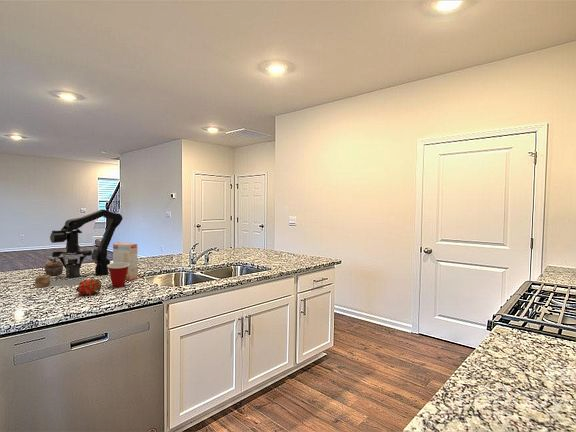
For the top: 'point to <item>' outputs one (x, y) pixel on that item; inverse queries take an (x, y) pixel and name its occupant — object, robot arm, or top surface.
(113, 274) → the plastic cup
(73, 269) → the supplement bottle
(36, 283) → the walnut block
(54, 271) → the cupcake
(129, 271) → the cracker box
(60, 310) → the top surface
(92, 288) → the dragon fruit
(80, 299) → the top surface
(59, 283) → the gray board
